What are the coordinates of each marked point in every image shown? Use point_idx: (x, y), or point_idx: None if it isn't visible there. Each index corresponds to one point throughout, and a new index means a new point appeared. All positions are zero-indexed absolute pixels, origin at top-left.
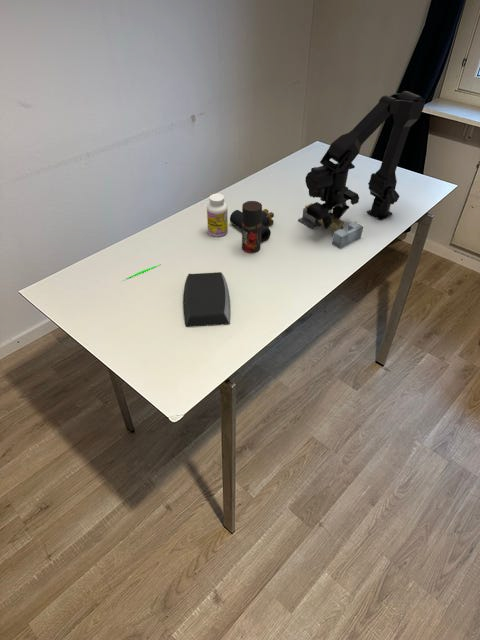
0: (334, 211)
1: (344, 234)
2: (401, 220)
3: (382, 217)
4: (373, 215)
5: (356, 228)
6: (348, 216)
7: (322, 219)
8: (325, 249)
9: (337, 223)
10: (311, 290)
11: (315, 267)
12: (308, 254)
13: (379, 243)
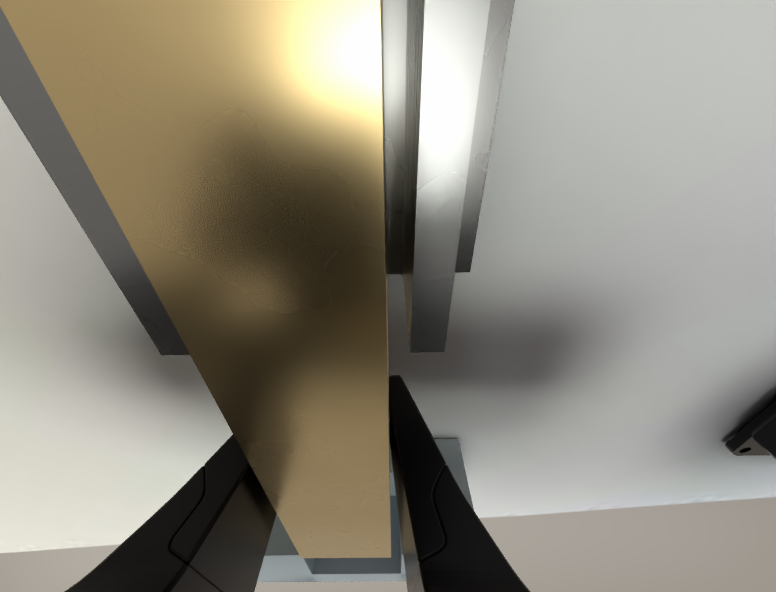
0: (412, 561)
1: (280, 578)
2: (770, 480)
3: (761, 449)
4: (768, 423)
5: None
6: (684, 306)
7: (200, 469)
8: (197, 449)
9: (313, 550)
10: (22, 534)
11: (79, 491)
12: (65, 435)
13: (477, 512)
